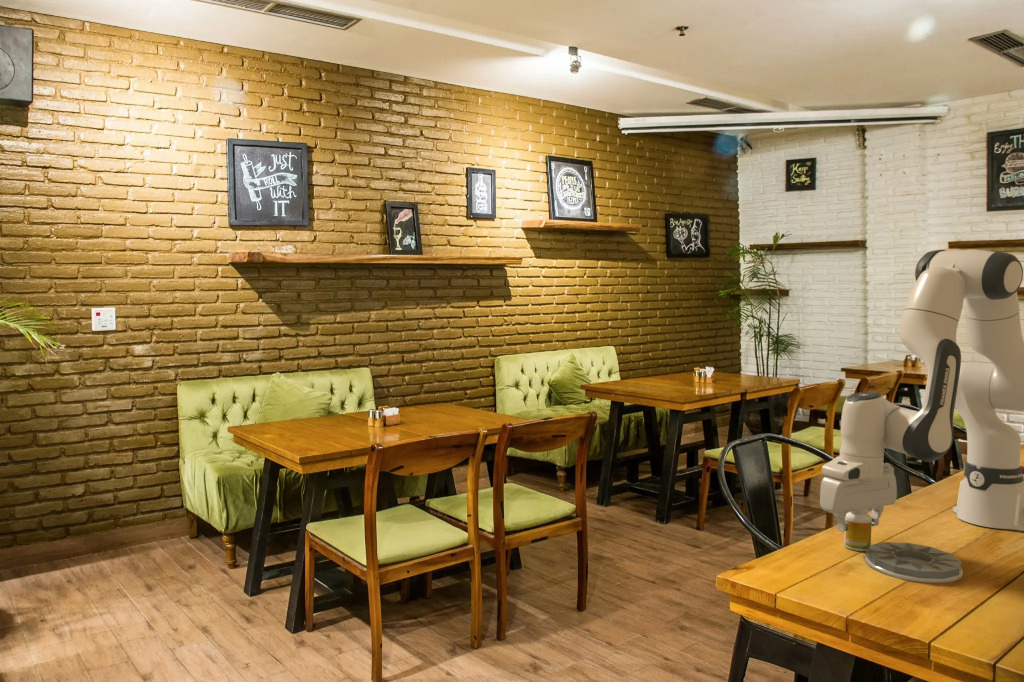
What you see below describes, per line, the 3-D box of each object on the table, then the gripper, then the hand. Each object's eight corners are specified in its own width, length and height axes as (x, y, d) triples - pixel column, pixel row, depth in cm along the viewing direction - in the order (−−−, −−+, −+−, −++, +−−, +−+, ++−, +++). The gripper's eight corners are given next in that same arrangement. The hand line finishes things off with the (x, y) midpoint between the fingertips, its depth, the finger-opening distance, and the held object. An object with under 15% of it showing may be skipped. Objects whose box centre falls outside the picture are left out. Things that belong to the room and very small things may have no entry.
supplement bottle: (873, 552, 169) (875, 509, 169) (846, 551, 170) (848, 507, 170) (867, 544, 175) (869, 502, 174) (841, 542, 176) (843, 500, 175)
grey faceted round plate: (904, 546, 173) (904, 537, 173) (982, 574, 157) (983, 563, 157) (846, 558, 166) (846, 548, 165) (922, 589, 149) (923, 578, 149)
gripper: (881, 459, 178) (878, 518, 179) (816, 467, 169) (813, 529, 170) (905, 465, 173) (902, 526, 174) (839, 473, 164) (836, 538, 165)
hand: (858, 527), depth 172 cm, fingers open, 8 cm apart
